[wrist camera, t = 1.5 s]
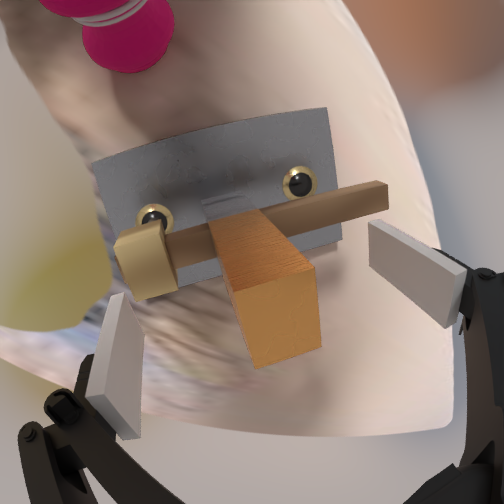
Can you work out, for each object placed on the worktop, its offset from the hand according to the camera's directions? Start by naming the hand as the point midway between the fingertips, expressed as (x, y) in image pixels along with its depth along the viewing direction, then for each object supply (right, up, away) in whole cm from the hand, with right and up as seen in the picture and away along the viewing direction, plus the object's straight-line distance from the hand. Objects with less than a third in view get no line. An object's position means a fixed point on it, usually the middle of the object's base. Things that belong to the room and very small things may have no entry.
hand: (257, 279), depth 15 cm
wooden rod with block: (-1, +6, +12) cm, 14 cm away
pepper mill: (-11, +20, +6) cm, 24 cm away
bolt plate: (-3, +6, +14) cm, 15 cm away
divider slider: (-3, +5, +12) cm, 13 cm away
